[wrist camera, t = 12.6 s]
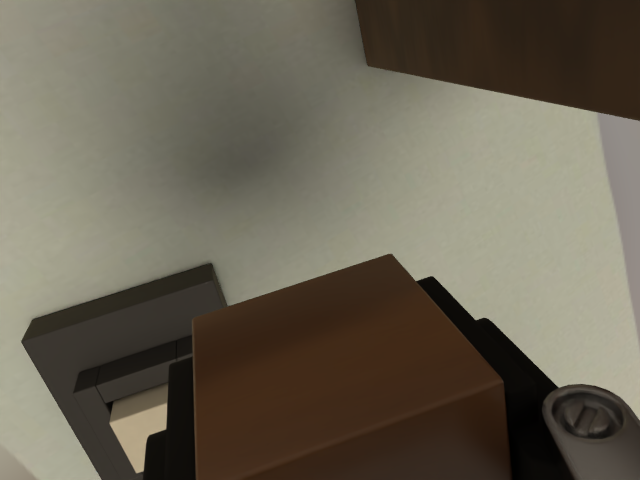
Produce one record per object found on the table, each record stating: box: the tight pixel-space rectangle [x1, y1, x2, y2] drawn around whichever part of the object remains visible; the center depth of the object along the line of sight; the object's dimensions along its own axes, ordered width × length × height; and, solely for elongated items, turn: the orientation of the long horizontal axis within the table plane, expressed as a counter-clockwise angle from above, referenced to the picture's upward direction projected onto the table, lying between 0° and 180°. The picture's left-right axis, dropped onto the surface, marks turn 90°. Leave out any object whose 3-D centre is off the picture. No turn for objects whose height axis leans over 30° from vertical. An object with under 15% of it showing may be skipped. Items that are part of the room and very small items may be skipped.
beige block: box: [109, 382, 168, 473], centre depth 27 cm, size 4×4×2 cm
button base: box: [21, 264, 228, 480], centre depth 29 cm, size 12×10×4 cm
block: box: [192, 254, 513, 480], centre depth 10 cm, size 4×4×4 cm
